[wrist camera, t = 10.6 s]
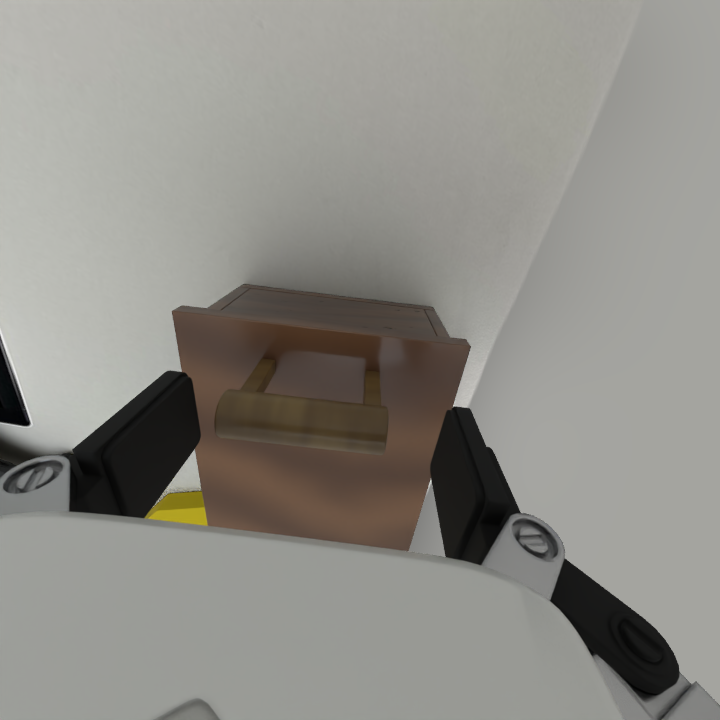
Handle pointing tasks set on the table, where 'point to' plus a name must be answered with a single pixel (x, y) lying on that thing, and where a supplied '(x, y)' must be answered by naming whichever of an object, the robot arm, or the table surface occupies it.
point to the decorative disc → (180, 508)
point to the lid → (316, 423)
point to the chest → (332, 309)
